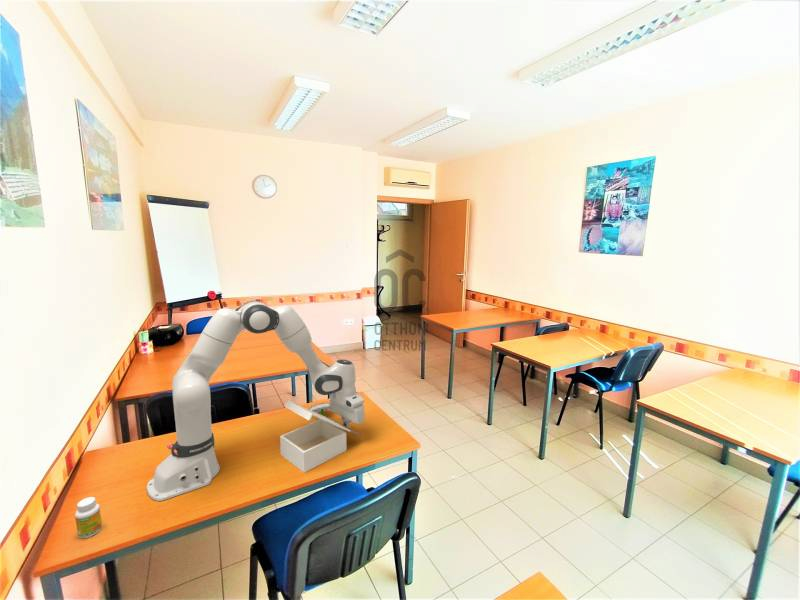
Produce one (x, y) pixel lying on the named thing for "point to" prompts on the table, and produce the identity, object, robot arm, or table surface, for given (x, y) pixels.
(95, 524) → the supplement bottle
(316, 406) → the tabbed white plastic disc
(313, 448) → the box
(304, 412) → the lid
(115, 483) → the table surface
